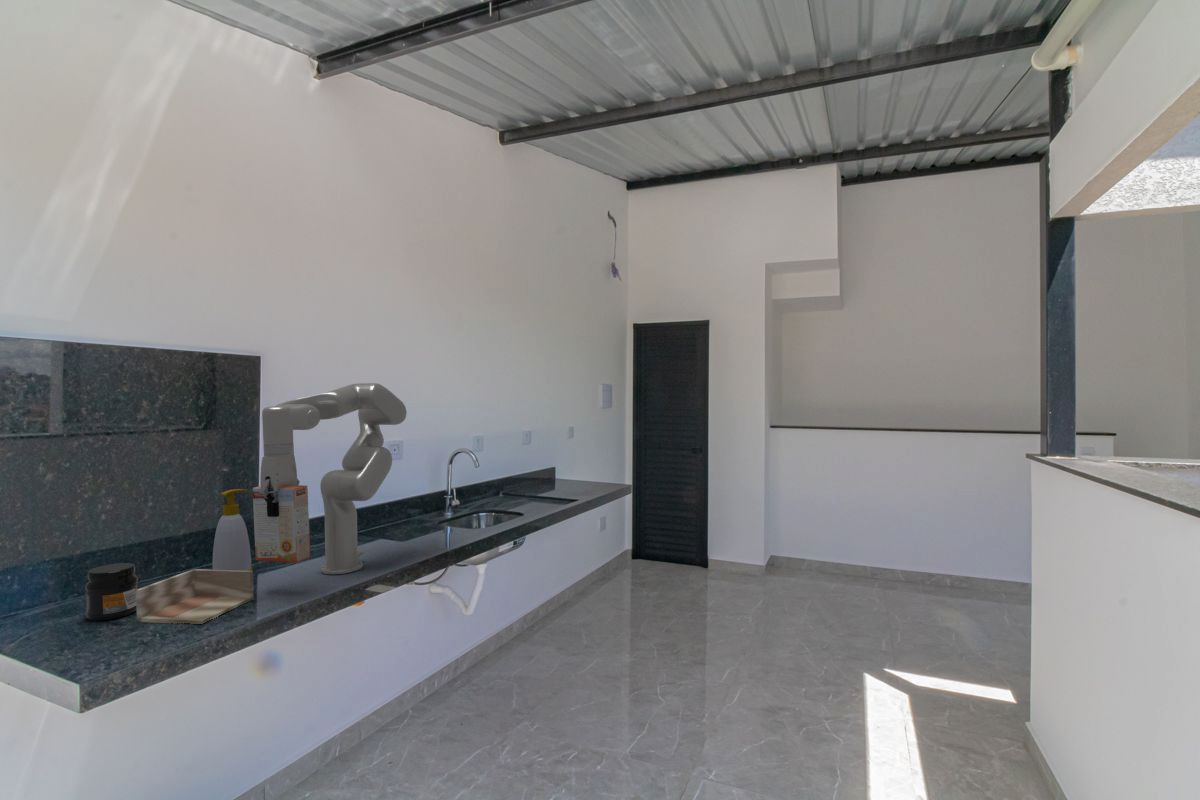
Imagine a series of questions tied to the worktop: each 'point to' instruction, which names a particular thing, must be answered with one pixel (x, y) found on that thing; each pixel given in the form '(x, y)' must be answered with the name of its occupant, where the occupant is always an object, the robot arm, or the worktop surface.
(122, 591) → the supplement container
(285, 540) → the cracker box
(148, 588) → the beige tray
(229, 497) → the soap bottle
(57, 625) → the worktop surface
